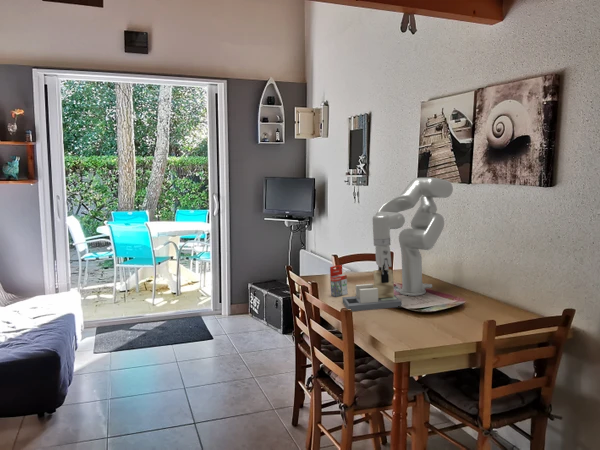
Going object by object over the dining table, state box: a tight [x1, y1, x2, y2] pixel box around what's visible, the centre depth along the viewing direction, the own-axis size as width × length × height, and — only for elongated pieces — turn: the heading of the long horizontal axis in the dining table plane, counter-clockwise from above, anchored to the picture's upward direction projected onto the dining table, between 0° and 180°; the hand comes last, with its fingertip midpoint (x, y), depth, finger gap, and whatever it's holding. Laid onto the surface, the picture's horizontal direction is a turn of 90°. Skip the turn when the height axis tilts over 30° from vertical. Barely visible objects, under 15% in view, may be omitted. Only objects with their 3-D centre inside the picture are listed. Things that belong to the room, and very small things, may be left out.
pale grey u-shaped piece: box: [355, 283, 378, 303], centre depth 218 cm, size 8×9×6 cm
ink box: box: [329, 264, 349, 298], centre depth 236 cm, size 4×8×15 cm, turn 123°
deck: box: [341, 294, 403, 312], centre depth 219 cm, size 24×14×3 cm, turn 96°
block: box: [373, 268, 395, 298], centre depth 218 cm, size 8×4×12 cm, turn 96°
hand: (383, 280), depth 218 cm, fingers closed on block, 4 cm apart
